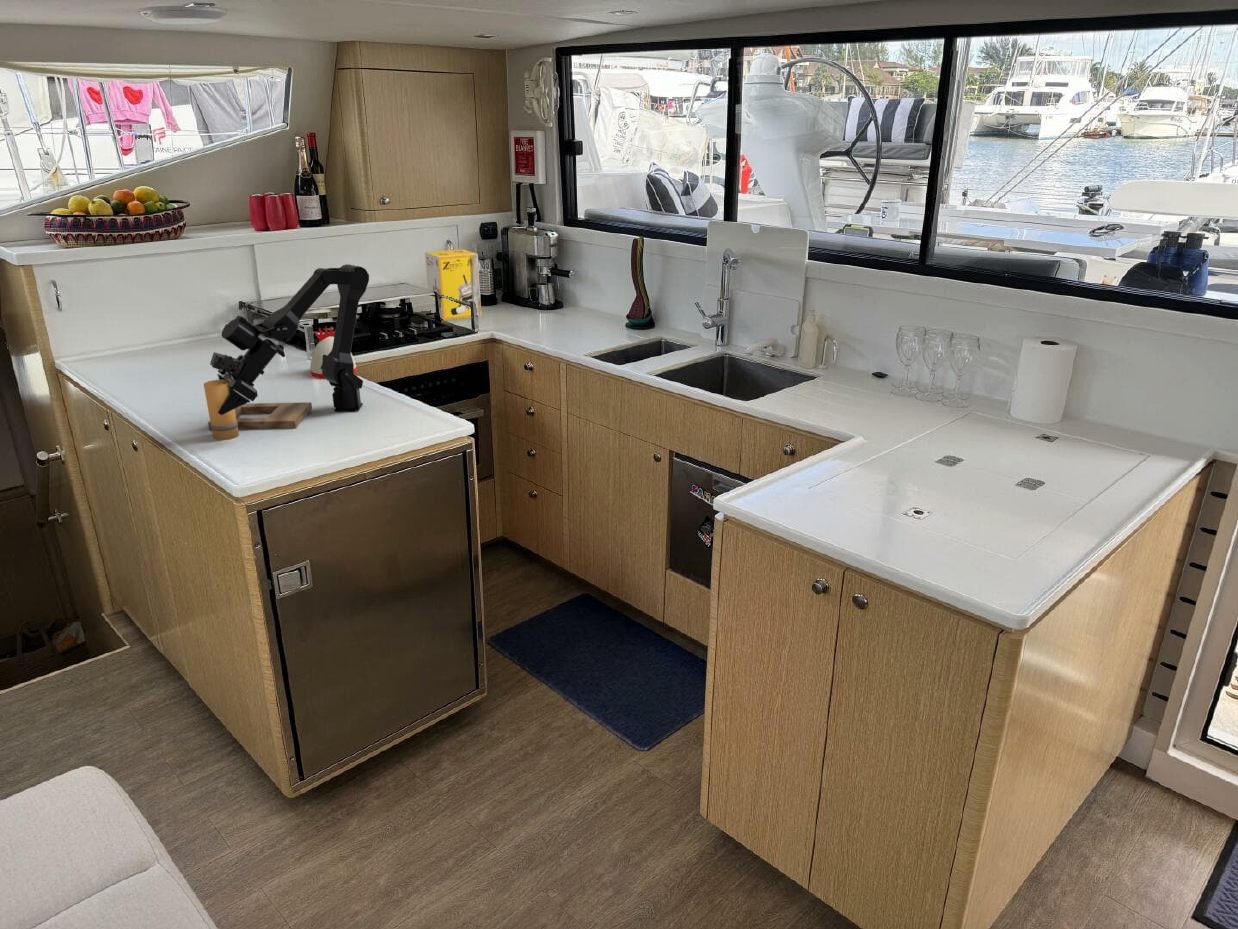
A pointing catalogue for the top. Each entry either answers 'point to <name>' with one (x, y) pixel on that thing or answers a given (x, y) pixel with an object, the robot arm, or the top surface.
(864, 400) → the top surface
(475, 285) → the packaging box
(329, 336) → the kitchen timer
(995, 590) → the top surface
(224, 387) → the orange round cylinder
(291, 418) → the wooden frame
